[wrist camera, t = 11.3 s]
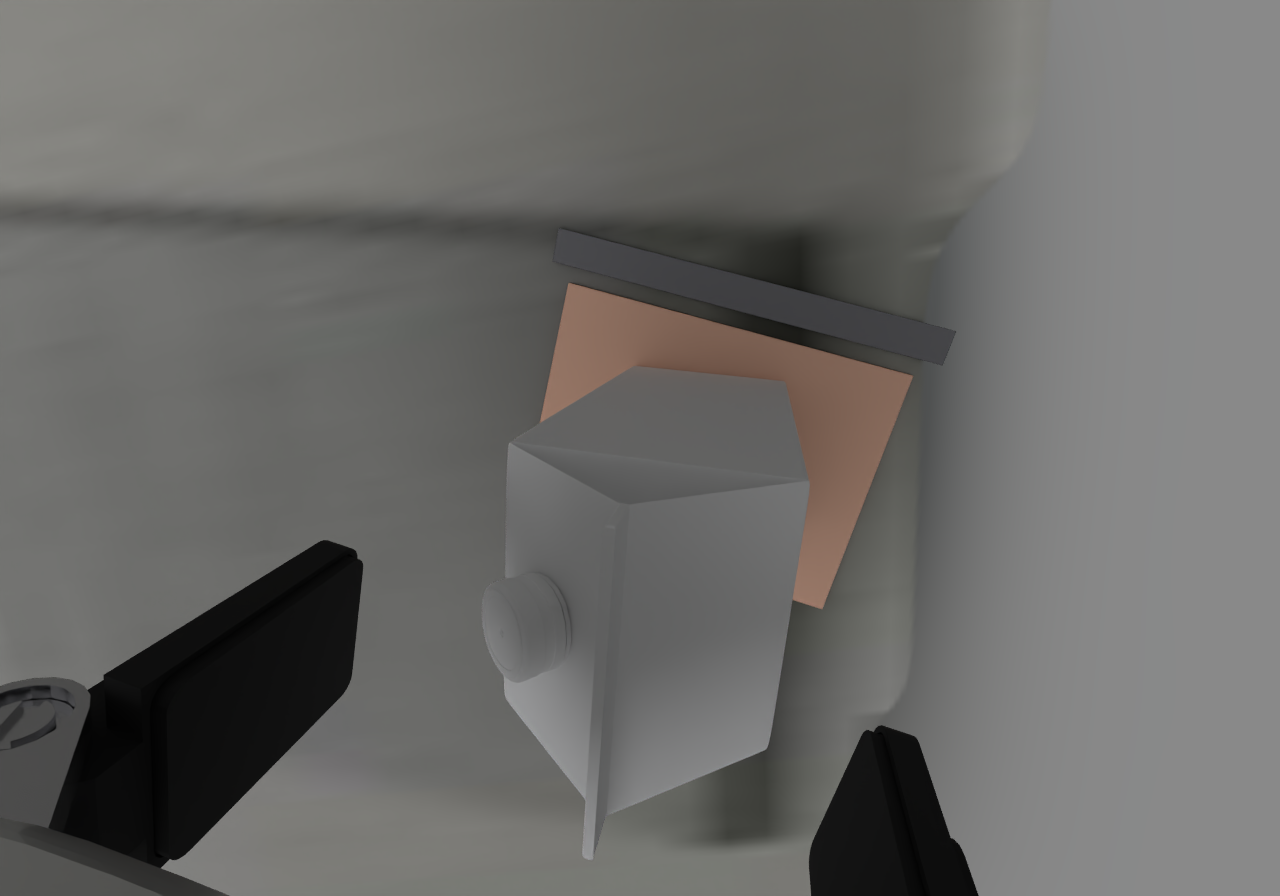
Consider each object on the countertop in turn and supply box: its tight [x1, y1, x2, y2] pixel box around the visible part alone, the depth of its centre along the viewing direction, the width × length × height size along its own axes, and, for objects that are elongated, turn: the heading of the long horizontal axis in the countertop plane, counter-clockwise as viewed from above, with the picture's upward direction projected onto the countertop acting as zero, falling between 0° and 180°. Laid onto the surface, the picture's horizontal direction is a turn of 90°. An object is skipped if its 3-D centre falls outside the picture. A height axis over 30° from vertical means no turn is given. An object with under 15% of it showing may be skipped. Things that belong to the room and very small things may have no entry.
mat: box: [540, 283, 913, 609], centre depth 29 cm, size 12×16×1 cm
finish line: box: [553, 228, 956, 365], centre depth 27 cm, size 2×18×1 cm, turn 76°
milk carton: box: [482, 366, 810, 860], centre depth 20 cm, size 7×7×19 cm
